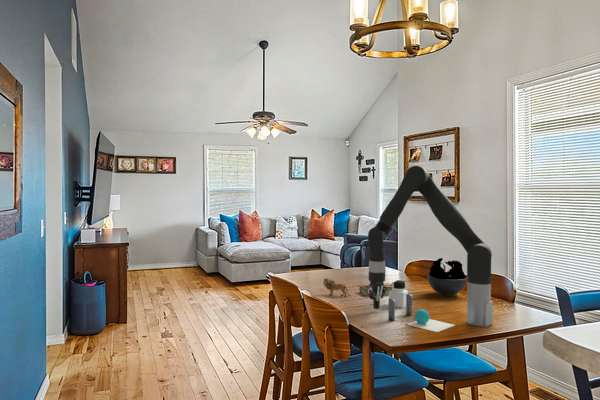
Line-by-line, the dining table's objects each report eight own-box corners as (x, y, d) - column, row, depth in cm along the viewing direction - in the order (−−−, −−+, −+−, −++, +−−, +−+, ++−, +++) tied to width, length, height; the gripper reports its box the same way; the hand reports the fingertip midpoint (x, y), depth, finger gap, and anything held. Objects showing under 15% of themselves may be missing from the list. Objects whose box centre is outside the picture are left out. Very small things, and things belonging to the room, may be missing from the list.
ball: (418, 310, 199) (424, 324, 197) (409, 313, 195) (415, 327, 193) (428, 305, 195) (434, 319, 193) (419, 308, 191) (426, 322, 189)
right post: (413, 314, 208) (413, 294, 207) (409, 316, 206) (410, 295, 206) (408, 313, 210) (408, 293, 209) (404, 314, 208) (405, 294, 208)
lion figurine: (321, 295, 244) (322, 278, 244) (324, 293, 249) (324, 276, 249) (349, 297, 240) (349, 280, 240) (351, 295, 245) (351, 278, 245)
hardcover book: (359, 293, 254) (359, 285, 254) (394, 290, 260) (394, 283, 260) (368, 298, 242) (369, 289, 242) (405, 295, 248) (405, 287, 248)
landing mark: (455, 325, 192) (455, 325, 192) (437, 332, 182) (437, 331, 182) (425, 318, 202) (425, 318, 202) (406, 324, 193) (406, 324, 193)
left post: (395, 320, 199) (396, 299, 199) (392, 321, 197) (392, 300, 197) (390, 319, 201) (391, 298, 200) (387, 320, 199) (387, 299, 199)
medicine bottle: (407, 305, 226) (408, 280, 225) (403, 308, 219) (403, 282, 219) (393, 303, 229) (394, 278, 229) (388, 306, 223) (389, 281, 223)
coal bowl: (469, 300, 236) (470, 263, 235) (428, 298, 240) (429, 261, 239) (463, 292, 255) (464, 257, 255) (426, 290, 259) (426, 256, 259)
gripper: (374, 273, 205) (374, 312, 205) (392, 270, 214) (391, 307, 215) (361, 271, 211) (360, 309, 211) (379, 267, 220) (378, 304, 220)
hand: (376, 308), depth 213 cm, fingers closed
